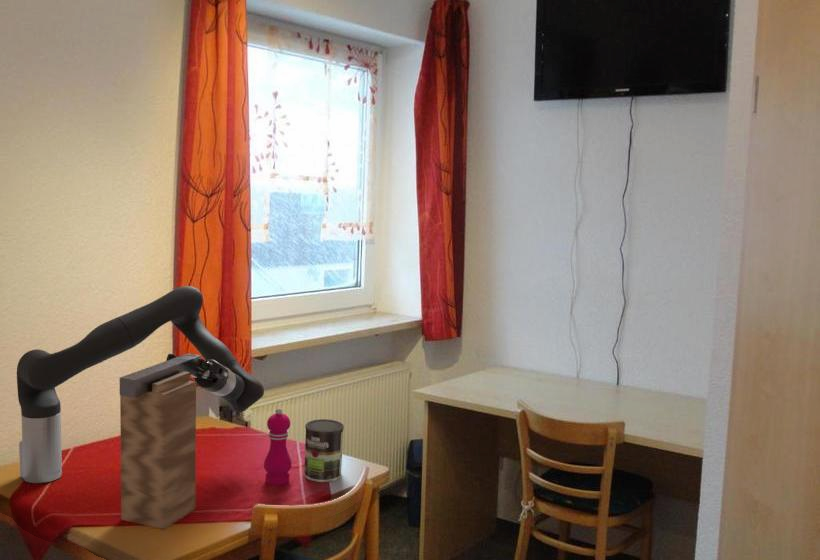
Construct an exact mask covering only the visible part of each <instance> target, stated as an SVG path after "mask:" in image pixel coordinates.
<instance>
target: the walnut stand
mask: <svg viewBox="0 0 820 560" xmlns="http://www.w3.org/2000/svg"><path fill="white" fill-rule="evenodd" d="M119 397H120V398H119V399H120V400H119V402H120V405H119V406H120V407H119V409H120V410H119V411H120V412H119V413H120V416H119V417H120V422H119V423H120V515H121V517H120V519H121V520H123V521H126V522H130V523H131V522H132V523H135V524H140V525H143V526H148V527H152V528H156V529H160V530H162V531H163V530H167V529H168V528H169V527H171V526H172V525H173V524H175V523H176V522H178V521H180V520H182V519H183V518H184V517H186V516H187V515H189V514H191V513H192V512H193V511H194V510H196V461H197V459H196V452H197V451H196V447H197V443H196V442H197V437H196V436H197V435H196V434H197V428H196V427H197V383H196V381H195V380H191V376H190V372H186V371H184V372H181V373H179V374H176V375H174V376H171V377H169V378H166V379H163V380H161V381H158V382H156V383H153V384H152V391H151V392H148V393H146V394H143V395H141V396H138V397H136V398H132V397H127V396H121V395H120V394H119ZM179 519H180V520H179Z"/></svg>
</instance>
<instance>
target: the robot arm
mask: <svg viewBox="0 0 820 560" xmlns="http://www.w3.org/2000/svg"><path fill="white" fill-rule="evenodd" d="M203 303H204V297H203V294H202V292H201V291H200V289H198V288H197V287H195V286H191V285H183V286H179V287H177V288H174V289H173V290H171V291H169V292H167V293H166V294H164V295H162V296H160V297H159V298H157V299H155V300H153V301H152V302H150V303H147V304H145V305H143V306H140V307H138V308H136V309H133V310H131V311H129V312H127V313H124V314H123V315H120V316H117V317H115V318H112V319H110V320H108V321H106V322H103V323H101V324H99V325H98V326H96V327H95V328H93V330H91V331H90V332H89V333H88V334H86V336H85V337H84V338H83V339H81V340H80V341H79V342H77V343H75V344H73V345H72V346H69V347H66V348H65V349H62V350H60V351H57V352H53V353H50V352H48V351H46V350H42V349H31V350H28V351H26V352H25V353H24V354H23V355H22V356H21V357H20V358H19V360H18V362H17V367H16V386H17V389H16V390H17V399H18V403H19V404H18V405H19V406H20V411H21V413H20V414H21V441H19V443H18V450H19V451H18V453H19V477H20V478H22V479H23V480H24V482H26V483H29V484H31V483H32V484H43V483H49V482H53V481H55V480H57V479H59V478H61V477H62V476H63V472H62V471H63V469H62V468H63V465H62V463H63V462H62V461H63V459H62V411H61V401H60V399H59V396H58V395H57V391H56V388H57V387H58V386H60V385H62V384H63V383H65V382H67V381H68V380H70V379H72V378H73V377H75V376H77V375H78V374H80V373H82V372H83V371H86V370H87V369H89V368H92V367H93V366H96V365H98V364H100V363H103V362H104V361H107V360H109V359H112V358H113V357H116V356H118V355H120V354H122V353H124V352H126V351H127V352H128V351H129V350H131V349H134V348H135V347H136V346H138V345H139V344H141V343H142V342H144V341H145V340H147V338H149V337H150V336H151V335H152V334H153V333H155V332H156V331H157V330H158V329H159V328H161V327H162V326H163V325H165V324H167V323H169V322H171V323H172V325H174V326H175V328H177V329H178V330H179V331H180V332H181V334H183V336H184V337H185V338H186V339H187V340H188V341H189V342H190V343H191V344H192V345H193V347H195V349H196V350H197V351H198V353H199V355H201V358H198V360H197V364H196V367H198V368H199V369H201V372H198V373H196V374H193V375H191V376H190V377H192V378H193V379H194V381H196V386H198V387H200V388H201V389H203V390H206V391H208V392H209V393H211V394H212V395H217V396H218V397H220V398H222V399H224V401H225V402H226V403H227V405H228V407H229V408H230V409H231V410H232V411H233V412H234V413H243V412H245V411H246V410H248V409H249V408H250V407H252V406H253V405H255V403H256V402H258V401H260V399H262V397H264V395H265V389H264V386H263V384H262V383H261V381H259V379H256V378H255V377H254V376H253V375H252V374H250V373H249V372H248V371H247V370H246V369H244V367H243V366H241V364H240V363H239V362H238V360H237V358H236V357H235V356H234V355H233V353H232V352H231V350H230V349H229V347H227V345H225V344H224V343H223V341H221V340H220V339H218V338H216V337H215V336H214V335H213V334H212V333H211V332H210V331H209V330H208V329H207V327H206V326H205V325H204V323H203V321H202V319H201V317H200V312H201V310H202V307H203ZM176 357H177V355H174V354H173V353H168V354H167V356H166V360H165V361H168V360H170V359H173V358H176ZM202 357H203V358H202Z"/></svg>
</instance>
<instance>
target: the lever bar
mask: <svg viewBox="0 0 820 560" xmlns="http://www.w3.org/2000/svg"><path fill="white" fill-rule="evenodd" d="M198 358H201V359H202V355H201V354H193V353H189V352H188V353H187V352H186V353H185V354H182V355H180V356H176V358H173V359H170V360H168V361H166V360H164V361H162V362H159V363H156V364H155V365H151V366H148V367H146V368H142V369H140V370H137V371H134V372H131V373H129V374H126V375H123V376H120V377H119V396H120V395H121V396H127V397H132V398H136V397H138V396H141V395H143V394H146V393H148V392H151V391H152V384H153V383H156V382H158V381H161V380H163V379H166V378H169V377H171V376H174V375H176V374H179V373H181V372H184V371H186V372H190V377H192V376H191V375H193V374H196V373H198V372H201V369H199V368H198V367H196V364H197V360H198Z"/></svg>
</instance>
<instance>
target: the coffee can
mask: <svg viewBox="0 0 820 560" xmlns="http://www.w3.org/2000/svg"><path fill="white" fill-rule="evenodd" d="M344 426H345V425H344V424H343V423H342V422H340V421H337V420H334V419H325V418H322V419H315V420H310V421H308V422H306V423H305V425H304V427H305V438H304V439H305V441H304V445H305V446H304V473H303V476H304V478H305V479H307V480H309V481H311V482H315V483H330V482H331V483H332V482H335V481H337V480H339V479H340V478H341V477H342V467H343V466H342V465H343V464H342V463H343V442H344V439H343V438H344V428H345V427H344Z"/></svg>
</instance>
